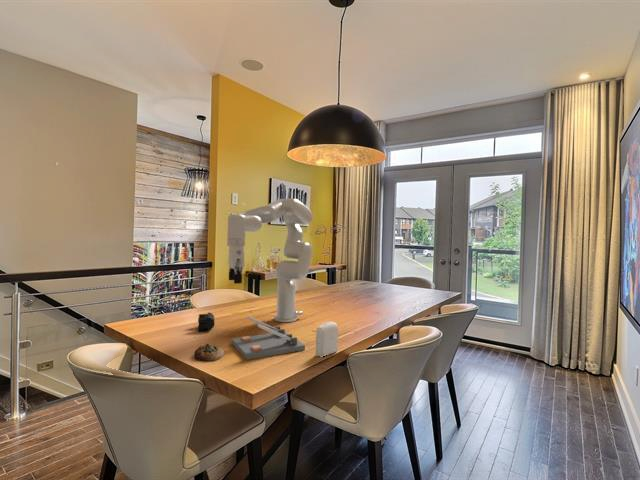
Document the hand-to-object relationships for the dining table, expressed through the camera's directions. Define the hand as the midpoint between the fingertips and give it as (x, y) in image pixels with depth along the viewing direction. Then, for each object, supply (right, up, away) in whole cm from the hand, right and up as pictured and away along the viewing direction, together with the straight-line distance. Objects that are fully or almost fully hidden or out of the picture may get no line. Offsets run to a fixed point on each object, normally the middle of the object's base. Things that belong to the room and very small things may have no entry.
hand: (235, 281), depth 147 cm
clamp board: (+16, -26, -10) cm, 31 cm away
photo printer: (+40, -27, -15) cm, 50 cm away
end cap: (-17, -24, +12) cm, 32 cm away
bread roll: (-4, -26, -21) cm, 34 cm away
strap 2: (+20, -19, -15) cm, 31 cm away
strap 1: (+14, -19, -4) cm, 24 cm away
